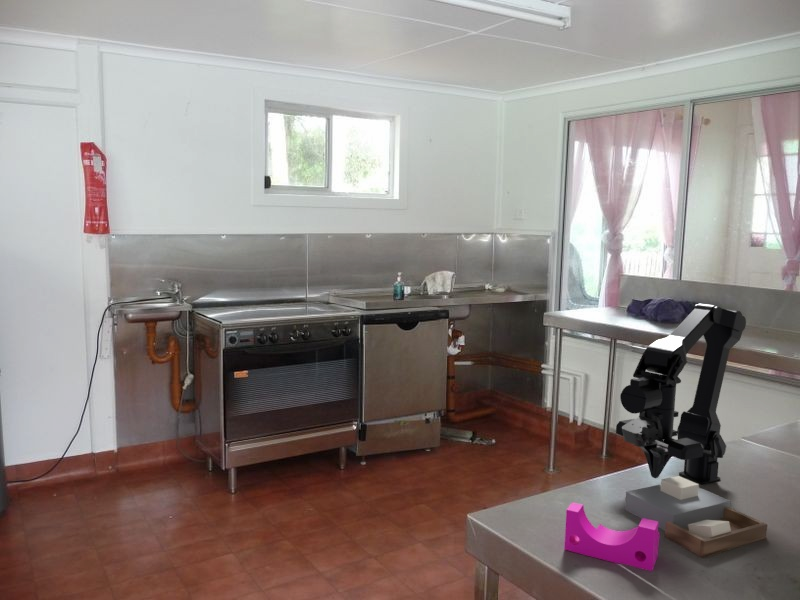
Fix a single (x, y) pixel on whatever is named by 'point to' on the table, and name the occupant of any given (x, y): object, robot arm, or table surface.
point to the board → (675, 506)
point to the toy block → (612, 540)
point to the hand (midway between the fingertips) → (654, 477)
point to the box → (741, 534)
